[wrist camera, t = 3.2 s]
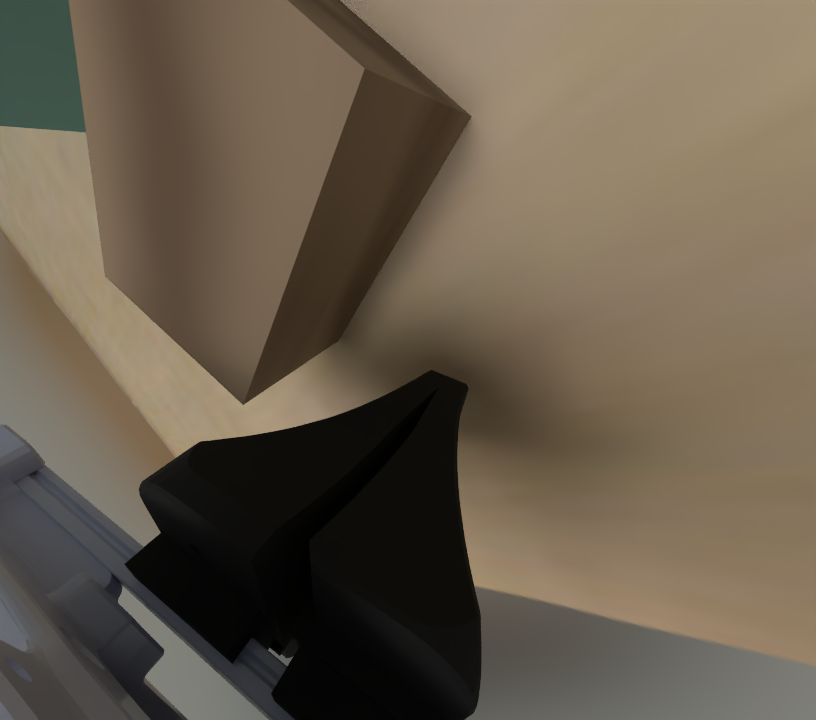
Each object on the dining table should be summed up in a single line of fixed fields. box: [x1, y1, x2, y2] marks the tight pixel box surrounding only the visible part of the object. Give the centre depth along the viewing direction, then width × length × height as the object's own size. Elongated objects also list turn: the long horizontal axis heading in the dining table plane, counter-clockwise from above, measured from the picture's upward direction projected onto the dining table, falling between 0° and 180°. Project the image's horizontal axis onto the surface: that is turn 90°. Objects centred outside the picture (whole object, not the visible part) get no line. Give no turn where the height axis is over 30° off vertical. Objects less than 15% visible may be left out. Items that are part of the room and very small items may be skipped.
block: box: [69, 0, 471, 405], centre depth 9 cm, size 6×9×5 cm, turn 145°
